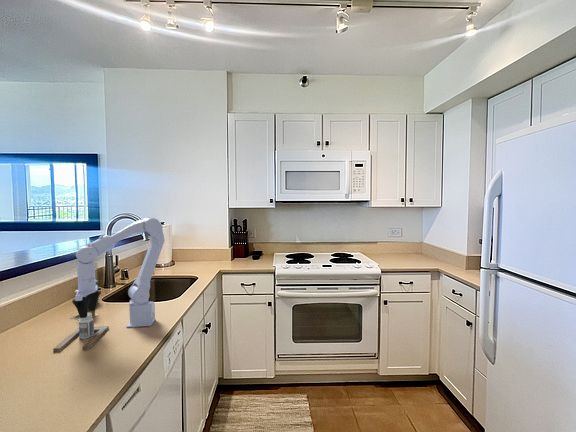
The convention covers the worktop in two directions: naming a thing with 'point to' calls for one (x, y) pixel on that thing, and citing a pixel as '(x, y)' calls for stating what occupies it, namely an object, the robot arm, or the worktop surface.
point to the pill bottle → (86, 326)
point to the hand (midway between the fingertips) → (88, 313)
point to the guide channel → (74, 335)
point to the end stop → (97, 328)
